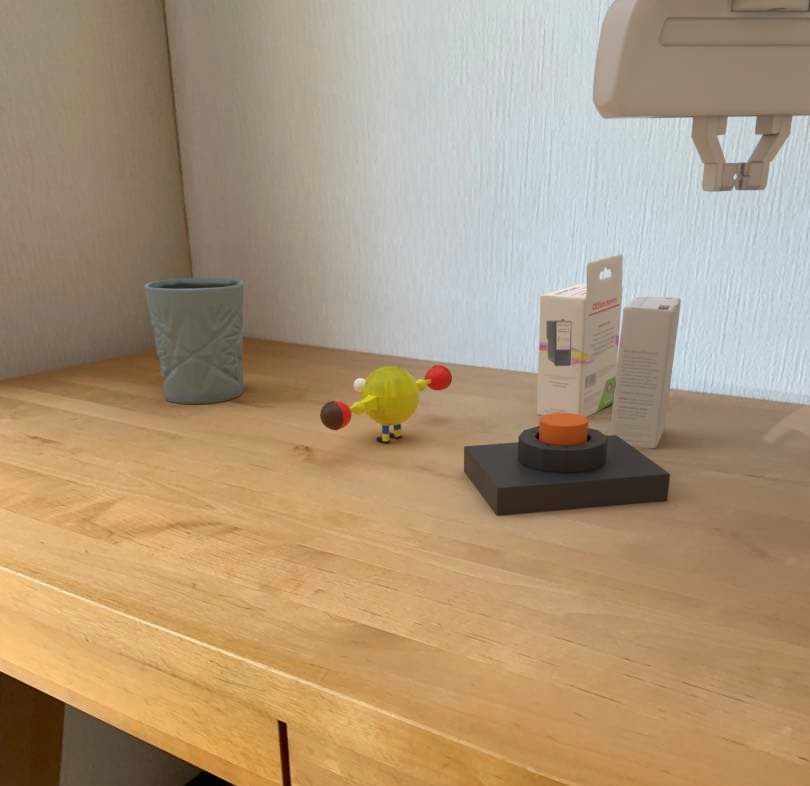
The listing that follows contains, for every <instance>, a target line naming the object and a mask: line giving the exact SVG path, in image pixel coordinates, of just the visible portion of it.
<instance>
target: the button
mask: <svg viewBox="0 0 810 786" xmlns="http://www.w3.org/2000/svg"><path fill="white" fill-rule="evenodd" d="M539 426H540V428H539V441H541V442H545V443H548V444H556V445H577V444H582V443H585V442H587V433H588V428H589V419H588V417H584V416H581V415H577V414H571V413H553V414H548V415H544V416H541V417H540V418H539Z"/></svg>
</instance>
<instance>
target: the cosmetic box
mask: <svg viewBox="0 0 810 786" xmlns="http://www.w3.org/2000/svg"><path fill="white" fill-rule="evenodd" d="M681 303H682V300H681V298H680V297H669V296H667V297H666V296H634V297H632V299H631V300H630V301H629V302H628V303H627V304H626V305H625V306H624V307H623V309H622V321H621V327H620V335H619V344H618V360H617V371H616V381H615V391H614V400H613V403H612V411H611V421H610V430H609V436H610V435H617V436H618V437H620V438H621V439H622V440H624V441H625V442H626V443H628V444H629V445H631V446H632V447H633V448H638V449H648V450H649V449H652V450H653V449H656V448H658V444H659V443H660V440H661V439H662V436H663V433H664V432H665V430H666V425H667V416H668V410H669V409H668V408H669V400H670V393H671V384H672V377H673V376H672V374H673V366H674V359H675V351H676V342H677V335H678V328H679V321H680V314H681V313H680V312H681Z"/></svg>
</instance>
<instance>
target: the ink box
mask: <svg viewBox="0 0 810 786" xmlns="http://www.w3.org/2000/svg"><path fill="white" fill-rule="evenodd" d="M623 261H624V260H623V254H622V253H619V254H616V255H613V256H612V255H611V256H608V257H604V258H600V259H598V260H594V261H589V262H588V263H587V265H586V283H582V282H581V283H576V284H573V285H571V286H568V287H565V288H562V289H558V290H554V291H551V292H548V293H543V294H540V295H539V298H540V299H539V305H540V306H539V329H538V330H539V331H538V332H539V333H538V335H539V336H538V363H537V365H538V367H537V368H538V369H537V394H536V398H537V399H536V415H537V416H541V417H542V416H544V415H548V414H553V413H571V414H577V415H581V416H584V417H586V418H588V417H590V416H592V415H593V414H595V413H597V412H599V411H600V410H603V409H604V408H606V407H608V406H610V405H613V400H614V391H615V381H616V371H617V362H618V352H619V343H620V332H621V315H622V301H623ZM605 269H606V270H607V271H609V270H610V276H607V277H604V278H600V276H601V275H600V274H601V273H602V272H604V271H605Z"/></svg>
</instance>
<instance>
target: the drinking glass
mask: <svg viewBox="0 0 810 786" xmlns="http://www.w3.org/2000/svg"><path fill="white" fill-rule="evenodd" d="M244 285H245V284H244V282H243V281H242V280H240V279H235V278H228V277H227V278H226V277H185V278H183V277H182V278H169V279H163V280H156V281H150V282H147V283H146V284H144V285H143V286H144V287H143V288H144V291H145V292H144V293H145V296H146V301H147V306H148V309H149V316H150V322H151V327H152V328H153V334H154V335H155V336H154V341H155V348H156V355H157V358H158V359H159V363H160V368H159V369H160V376H161V382H162V385H163V386H162V388H163V393H164V397H165V399H166V400H167V401H169V402H171V403H175V404H182V405H207V404H216V403H222V402H227V401H231V400H233V399H236V398H238V397H241V396H242V395H243V392H244V365H243V363H242V362H243V361H242V359H243V357H244V335H243V333H242V329H243V324H244Z"/></svg>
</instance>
